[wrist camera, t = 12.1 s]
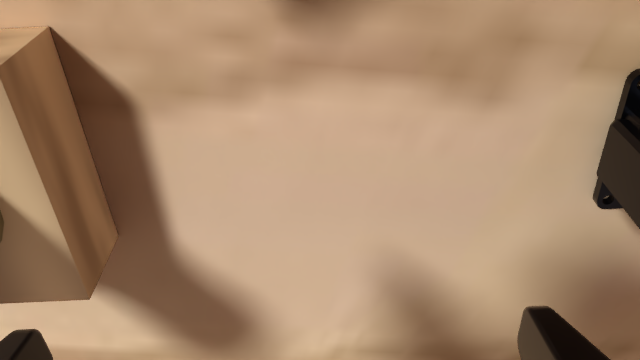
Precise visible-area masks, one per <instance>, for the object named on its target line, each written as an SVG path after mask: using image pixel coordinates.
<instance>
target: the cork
mask: <svg viewBox="0 0 640 360" xmlns="http://www.w3.org/2000/svg"><path fill="white" fill-rule="evenodd" d="M3 227H4V220H3V217H2V214H1V210H0V243H1V241H2V236H3Z"/></svg>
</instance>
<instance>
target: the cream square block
mask: <svg viewBox="0 0 640 360" xmlns="http://www.w3.org/2000/svg"><path fill="white" fill-rule="evenodd" d="M0 210H1V214H2V217H3V220H4V227H3V236H2V241H1V243H0V304H1V303H24V302H46V301H68V300H90V298H91V295H92V293H93V291H94V289H95V287H96V284H97V282H98V280H99V278H100V276H101V274H102V271H103V269H104V267H105V265H106V263H107V260H108V258H109V256H110V254H111V252H112V249H113V247H114V245H115V243H116V241H117V238H118V234H117V231H116V228H115V225H114V222H113V219H112V215H111V212H110V209H109V206H108V203H107V200H106V197H105V194H104V191H103V188H102V185H101V182H100V179H99V176H98V173H97V170H96V167H95V164H94V161H93V158H92V155H91V152H90V149H89V146H88V143H87V140H86V137H85V134H84V131H83V128H82V125H81V122H80V119H79V116H78V113H77V110H76V107H75V104H74V101H73V98H72V95H71V92H70V89H69V86H68V83H67V80H66V77H65V74H64V71H63V68H62V65H61V62H60V59H59V56H58V53H57V50H56V47H55V44H54V41H53V38H52V35H51V32H50V29H49V26H45V27H27V28H8V29H0Z"/></svg>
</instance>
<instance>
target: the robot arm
mask: <svg viewBox="0 0 640 360" xmlns="http://www.w3.org/2000/svg"><path fill="white" fill-rule="evenodd" d="M639 81H640V69H636V70H635V71H633V72H631V73H630V74H629V76H628V77H627V79H626V81H625V85H624V88H623V92H622V95H621V99H620V102H619V106H618V109H617V113H616V116H615V120H614V121H613V123H612V124H611V125H610V128H609V131H608V135H607V138H606V142H605V145H604V149H603V152H602V156H601V160H600V163H599V167H598V170H597V176H598V180H597V183H596V187H595V190H594V194H593V200H594V201H595V203H596V204H597V206H598V207H600V208H601V209H616V208H624V210H625V211H626V212H627V213H628V215H629V216H630V217H631V218H632V220H633V221H634V222H635V224H636V225H637V226H638V227H639V229H640V85H639V86H637V84H638V82H639ZM608 195H609V197H608V198H606V199H604V197H606V196H608ZM518 349H519V353H520V357H521V360H610V359H609V358H608V357H607V356H606V355H604V354H603V353H602V352H601V351H600V350H599V349H597V348H596V347H595V346H594V345H593V344H592V343H591V342H589V341H588V340H587V339H586V338H585V337H584V336H583V335H581V334H580V333H579V332H578V331H577V330H576V329H575V328H573V327H572V326H571V325H570V324H569V323H568V322H567V321H565V320H564V319H563V318H562V317H561V316H560V315H559V314H557V313H556V312H555V311H554V310H553V309H552V308H550V307H548V306H529V307H526V308H525V309H524V312H523V315H522V320H521V324H520V328H519V333H518ZM0 360H53V357H52V354H51V352H50V350H49V348H48V346H47V344H46V342H45V340H44V338H43V336H42V334H41V333H40V332H39V331H38V330H36V329H25V330H16V331H13V332H11V333H10V334H9V335H8V336H6V337H5V338H4V339H3V340H2V341H0Z"/></svg>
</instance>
